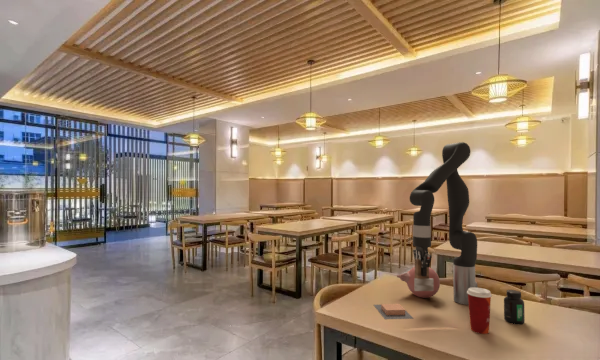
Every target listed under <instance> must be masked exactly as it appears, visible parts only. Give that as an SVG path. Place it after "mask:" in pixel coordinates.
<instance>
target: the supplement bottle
mask: <svg viewBox="0 0 600 360" xmlns="http://www.w3.org/2000/svg"><path fill="white" fill-rule="evenodd" d="M525 316H526V315H525V301H524V300H523V298H522V292H521V291H520V290H519V291H518V290H514V289H507V290H506V295H505V297H504V298H503V319H504V321H505V322H507V323H509V324H510V325H511V324H512V325H517V326H521V325H522V326H523V325H524V324H525V322H526V321H525Z"/></svg>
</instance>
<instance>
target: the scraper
mask: <svg viewBox="0 0 600 360" xmlns="http://www.w3.org/2000/svg"><path fill="white" fill-rule="evenodd" d="M422 260H424V259H422ZM427 264H428V263H427ZM414 267H415V279H414V290H415V291H433V279H429V267H430V266H429V267H427V276H421V262H420V260H419V259H414Z"/></svg>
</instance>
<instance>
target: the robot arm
mask: <svg viewBox="0 0 600 360" xmlns="http://www.w3.org/2000/svg"><path fill="white" fill-rule="evenodd" d="M441 154H442V155H441V157H442V162H443V163H442V164H441V165H439V166H438V167H436V168H434V170H433V171H431V173H429V175H428V176H427V177H426V179H425V180H424V181H423V182H421V183H420V184H419V185H418V186H416V187H415V188H414V189H413V190H412V191H411V193H410V194H409V202H410V203H411V205H413V206H416V207H420V209H419V211H418V210H417V211H415V212H414V213H413V214H412V215H413V216H412V217H413V219H412V220H413V225H412V245H413V247H415V249H413V250H412V252H413V259H414V260H415V259H419V260H420V262H421V276H427V267H430V266H431V261H432V255H431V254H429V248H431V247H432V228H431V227H432V226H431V215H432V212H433V209H434V204H435V195H434V194H435V193H437V192H438V191H439V189H441V187H442V186H443V184H444V183H445V182H446V190H447V191H446V193H447V194H446V195H447V205H448V217H449V223H448V239H449V241H448V242H449V244H450V246H451V247H452V248H453V249H455V250H458V251H460V256H455V257H454V258H453V261H452V263H453V264H452V265H453V266H452V267H453V268H452V269H453V271H452V272H453V277H452V278H453V279H452V280H453V301H454V302H455V303H458V304H461V305H467V306H469V302H468V293H467V291H468V289H469V288H472V287H476V288H478V282H477V281H476V262H477V258H478V237H477V236H476V234H475V233H473V232H471V231H466V230H463V219H464V217H465V214H466V212H467V210H468V208H469V205H470V192H469V188H468V186H467V184H466V183H465V181H464V180H463V179H462V177H461V175H460V173H459V171H458V169H459V167H461V166H462V165H463V164H464V163H465V162H466V161H468V159H469V158H470V155H471V147H470V146H469V144H468V143H466V142H463V141H462V142H459V141H458V142H454V143H447V144H445V145H444V146H443V147H442V151H441ZM422 259H424V260H422ZM427 263H428V264H427Z"/></svg>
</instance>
